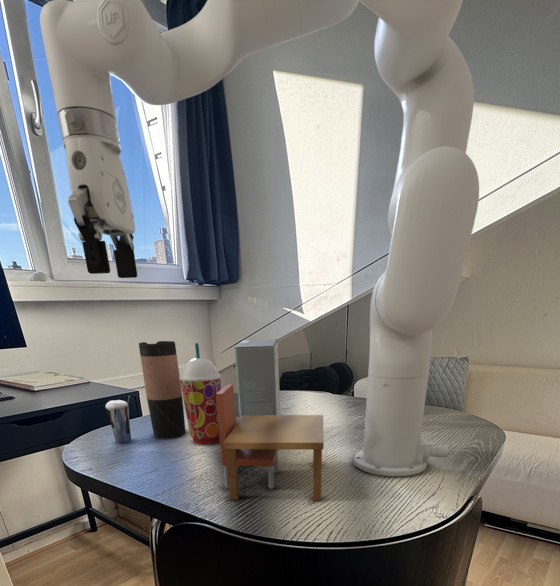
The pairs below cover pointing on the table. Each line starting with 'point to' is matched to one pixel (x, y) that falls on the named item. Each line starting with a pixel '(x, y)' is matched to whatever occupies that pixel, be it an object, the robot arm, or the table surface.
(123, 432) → the milkshake
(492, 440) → the table surface
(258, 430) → the mini table
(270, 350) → the hard drive box
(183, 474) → the table surface
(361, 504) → the table surface
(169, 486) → the table surface
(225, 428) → the chair
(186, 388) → the smoothie
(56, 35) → the robot arm
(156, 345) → the travel mug
